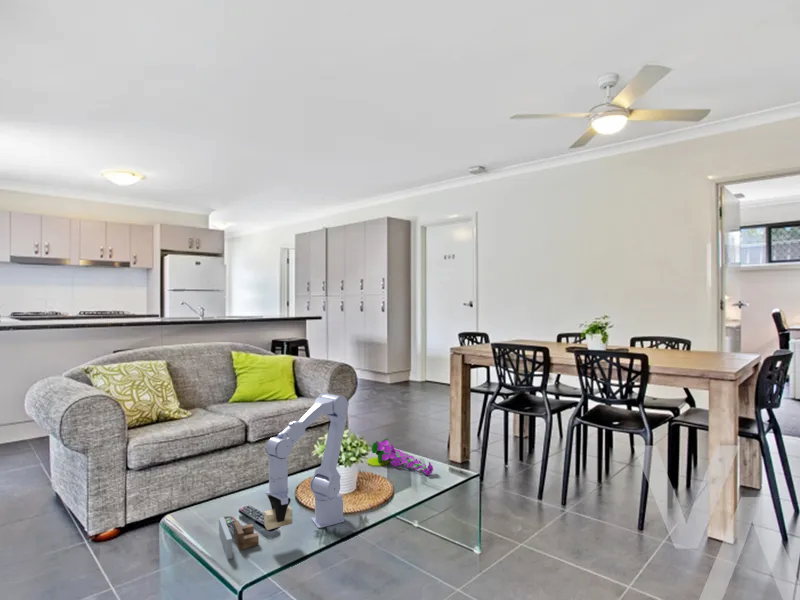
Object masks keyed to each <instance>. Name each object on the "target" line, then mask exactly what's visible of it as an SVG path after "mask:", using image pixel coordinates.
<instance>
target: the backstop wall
mask: <svg viewBox="0 0 800 600" xmlns="http://www.w3.org/2000/svg"><path fill="white" fill-rule="evenodd" d="M218 537H219V540H220V543H221V546H222V548H223V551H224V554H225V556H226V557H225V558H226V560H230V559H231V560H232V559H233V537H232V533H231V532H230V529H229V527H228V525H227V522H226V519H225V517H224V516H222V517H218Z"/></svg>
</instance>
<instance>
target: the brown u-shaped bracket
mask: <svg viewBox="0 0 800 600" xmlns="http://www.w3.org/2000/svg"><path fill="white" fill-rule="evenodd" d="M254 527H255V526H254V524H253V523H250V524H245V525H241V524H240V521H239V520H236V521H233V540H234V542H235V545H236V546H237V547H236V548H237V549H238V551H241V550H245V549H247V548H251V547H253V548H254V547H257V546H259V544H260V543H259V542H260V541H259V540H260V539H259V534H258V532H255V530H254V529H255V528H254ZM254 532H255V533H254Z"/></svg>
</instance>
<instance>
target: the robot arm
mask: <svg viewBox="0 0 800 600" xmlns="http://www.w3.org/2000/svg"><path fill="white" fill-rule="evenodd" d="M348 409H349V401H348V399H347V398H346V397H345V396H344V395H337V394H332V393H328V392H322V393H321V394H319V396H318V397H316V398H315V401H314V404H312V406H311V407H310V408H309V409H308V410H307V411H306V412H305V413H304V414H303V415H302V416H301V417H300V418H299V420H293V421H290V422H289V423H288V425H287V426H286V427H284V429H283V430H282V431H281V432H279V433H278V434H277V436H273V437H270V439H268V440H267V442H266V445H265V446H264V451H265V453H266V455H267V459H268V490H265V493H264V494H265V495H266V496H267V498H268V500H269V502H270V506H271V509H275V513H276V519H277V522H282V521H284V519H285V515H286V511H287V508H288V505H289V506H290V504H291V498H290V497H289V496H288V495H289V487H288V486H289V485H288V484H289V483H288V482H289V478H288V477H289V476H288V475H289V473H288V467H289V466H288V457H289V456H290V454H291V452H292V448H293V447H294V445H295V444H296V443H297V442H298V441H299V440H300V439H301V438H303V436H305V433H306V429H307V428H308V427H309V426H310V425H311V424H313V423H314V422H315V421H316V420H317V419H319V418H320V417H321V416H322V415H326V416H327V418H328V419H329V420H330V423H329V428H328V432H327V437H326V441H325V445H324V451H323V454H322V455H323V456H322V459H321V464H320V466H319V467H318V468H316V469H315V470H314V474H313V476H312V478H311V480H310V484H309V487H310V490H311V491H312V492H313V496H314V516H312V517H311V518H310V520H311V521H312V522H313V523H314V525H315V526H316V527H317V528H318V529H322V528H326V527H329V526H332V525H333V526H334V525H336V524H340V523H344V522H345V519H344V500H343V496H342V494H341V493H340V491H341V474H340V473H339V470H338V469H337V466H338V462H339V458H340V453H341V452H340V451H341V448H342V443H343V438H344V433H345V428H346V423H347V419H348V417H347V416H348Z"/></svg>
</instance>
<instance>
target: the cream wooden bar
mask: <svg viewBox="0 0 800 600" xmlns="http://www.w3.org/2000/svg"><path fill="white" fill-rule="evenodd" d="M263 519H264V520H263V523H264V524H263V525H264V527H265V529H266V531H269V530H273V529H278V528H280V527H281V528H282V527H284V526H288V525H289V526H290V525H292V524H293V508H292V506H290V504H289V505H288V508H287V511H286V515H285V519H284V521H282V522H277V519H276V513H275V509H272V508H271V509H268V510H264V511H263Z"/></svg>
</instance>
